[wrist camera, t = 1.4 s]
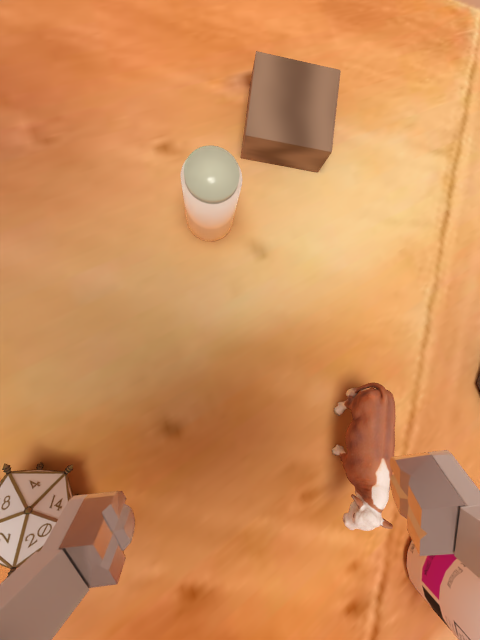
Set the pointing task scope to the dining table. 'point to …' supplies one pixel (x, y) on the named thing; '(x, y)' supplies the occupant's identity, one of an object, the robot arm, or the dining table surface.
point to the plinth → (290, 112)
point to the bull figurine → (368, 454)
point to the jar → (210, 191)
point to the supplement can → (448, 590)
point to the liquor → (478, 381)
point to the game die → (29, 511)
